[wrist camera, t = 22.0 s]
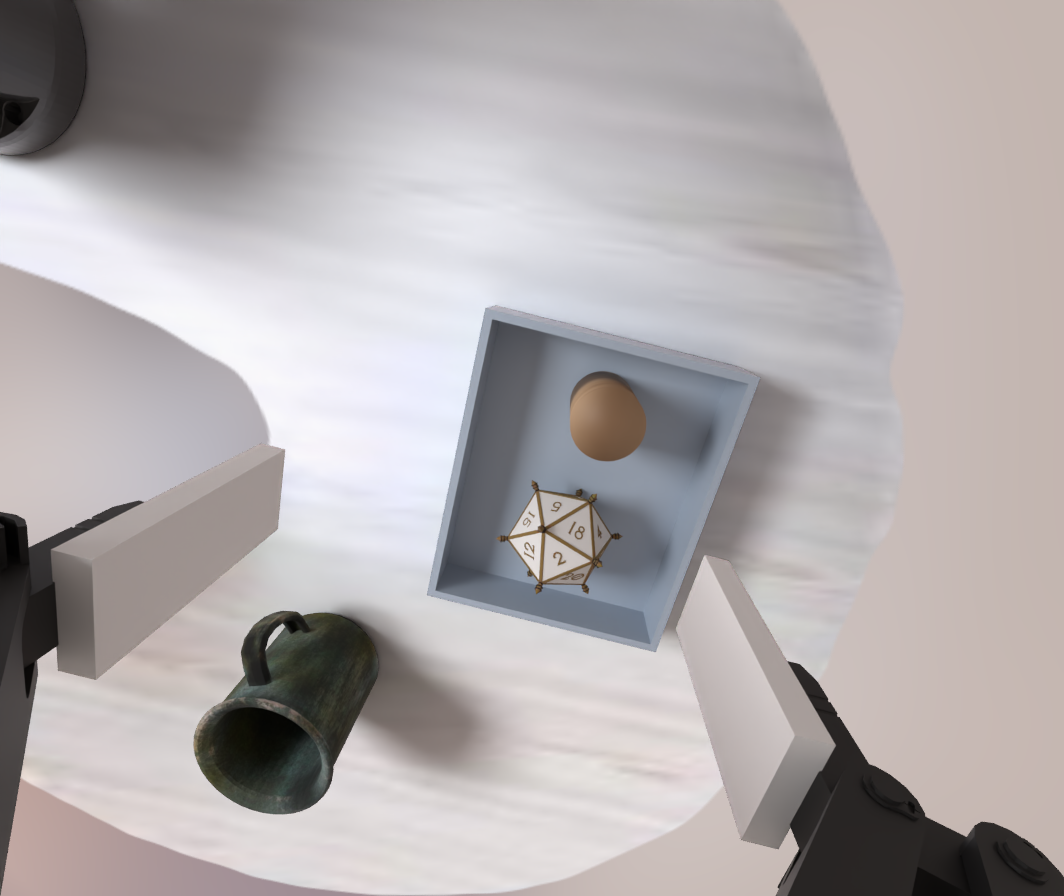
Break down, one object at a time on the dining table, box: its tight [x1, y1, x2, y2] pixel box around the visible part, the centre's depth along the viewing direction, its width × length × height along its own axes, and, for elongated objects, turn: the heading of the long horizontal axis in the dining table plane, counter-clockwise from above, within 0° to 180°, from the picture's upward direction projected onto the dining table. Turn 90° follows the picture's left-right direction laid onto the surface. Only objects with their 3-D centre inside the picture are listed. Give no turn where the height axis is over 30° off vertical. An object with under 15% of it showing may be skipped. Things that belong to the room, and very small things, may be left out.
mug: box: [194, 611, 378, 814], centre depth 45 cm, size 11×15×12 cm
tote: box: [427, 306, 760, 652], centre depth 41 cm, size 19×23×5 cm
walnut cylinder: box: [570, 371, 646, 462], centre depth 37 cm, size 5×5×7 cm
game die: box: [496, 480, 623, 594], centre depth 40 cm, size 9×8×10 cm
